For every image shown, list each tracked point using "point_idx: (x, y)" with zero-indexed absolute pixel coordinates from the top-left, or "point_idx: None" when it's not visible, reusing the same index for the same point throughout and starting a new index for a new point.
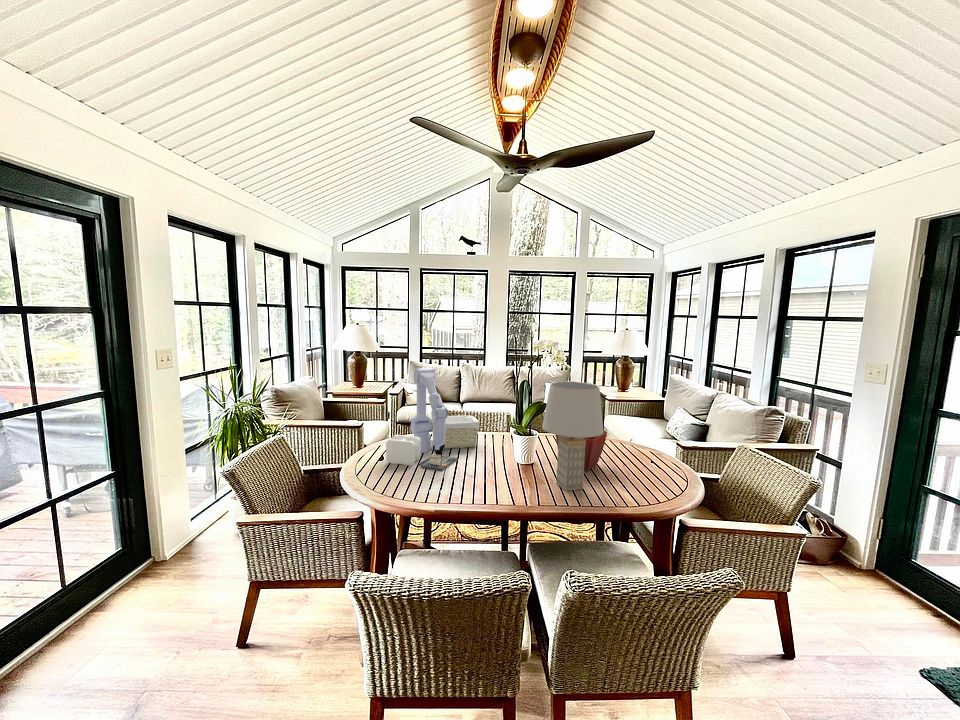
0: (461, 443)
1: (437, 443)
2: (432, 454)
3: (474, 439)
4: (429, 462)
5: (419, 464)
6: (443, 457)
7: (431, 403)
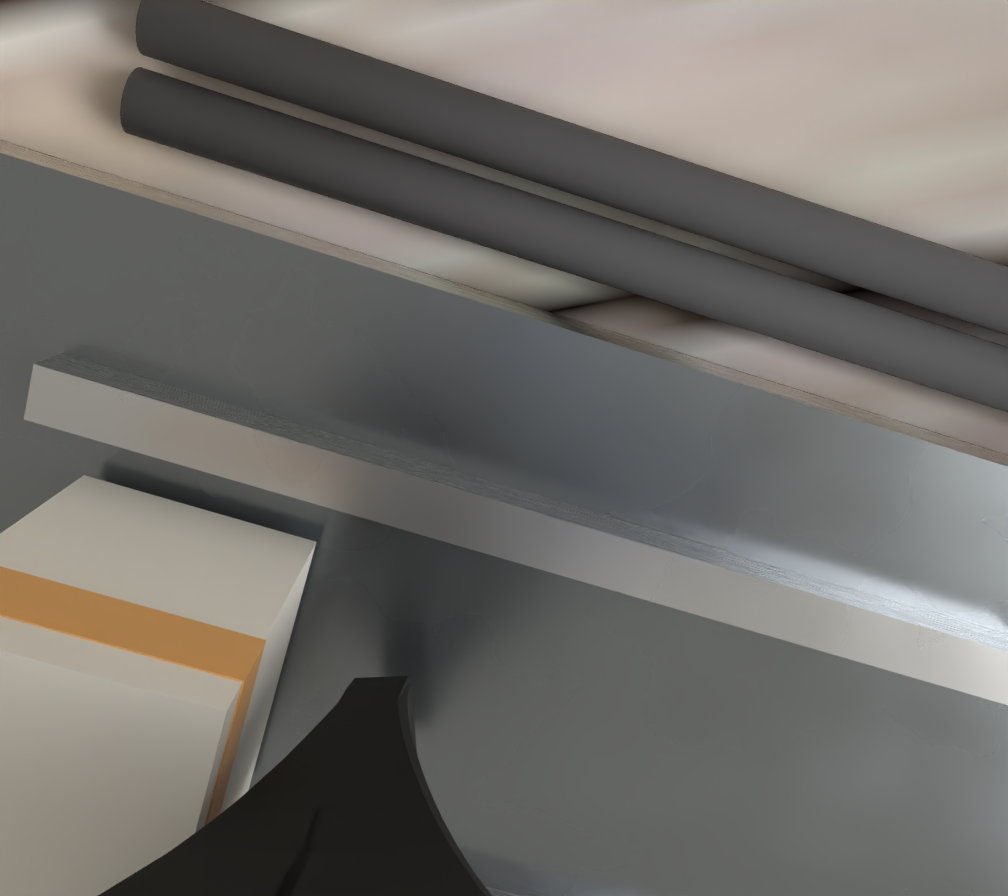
0: None
1: None
2: (75, 698)
3: None
4: (134, 447)
5: (144, 36)
6: (893, 782)
7: None
